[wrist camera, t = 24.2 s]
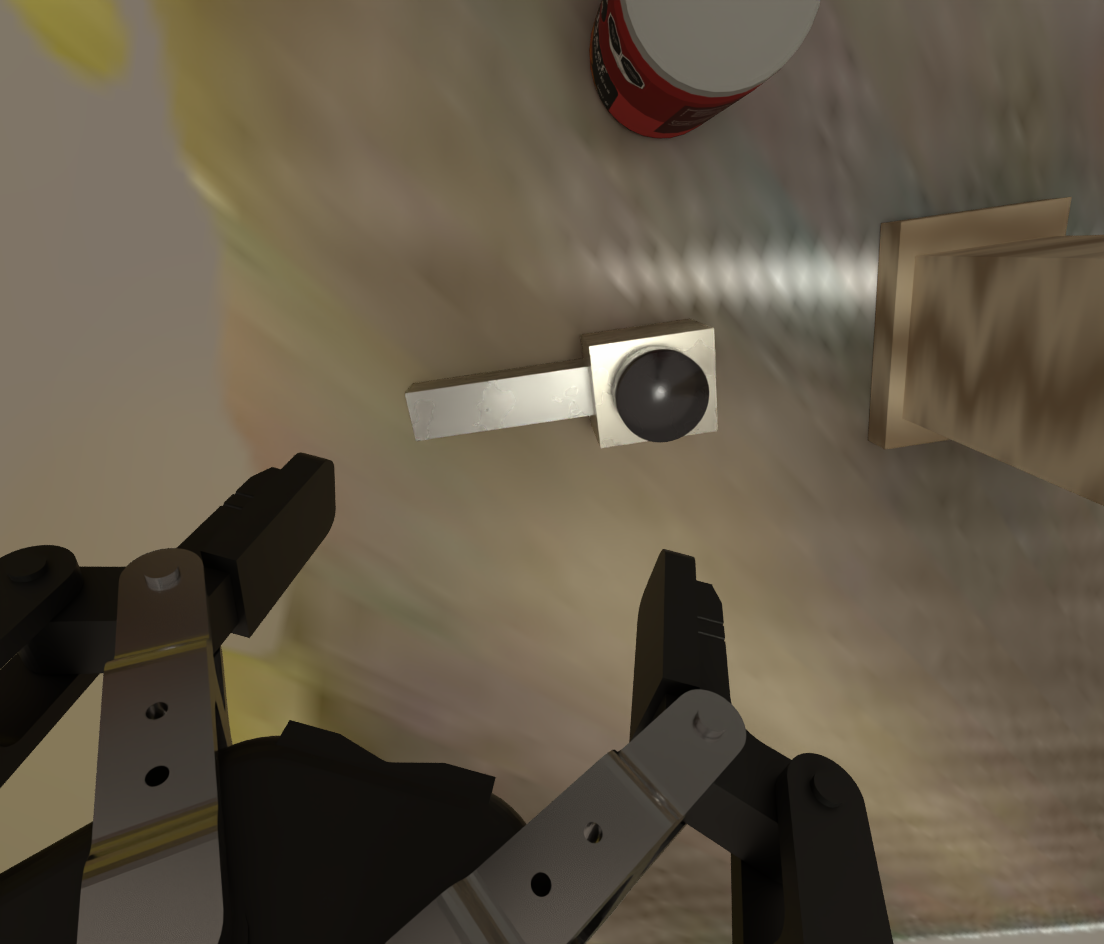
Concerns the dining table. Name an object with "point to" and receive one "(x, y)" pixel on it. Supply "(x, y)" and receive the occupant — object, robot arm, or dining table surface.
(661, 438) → the grey elongated piece
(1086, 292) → the stand
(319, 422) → the dining table surface
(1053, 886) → the dining table surface
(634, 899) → the dining table surface
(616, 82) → the canned food
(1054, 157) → the dining table surface
